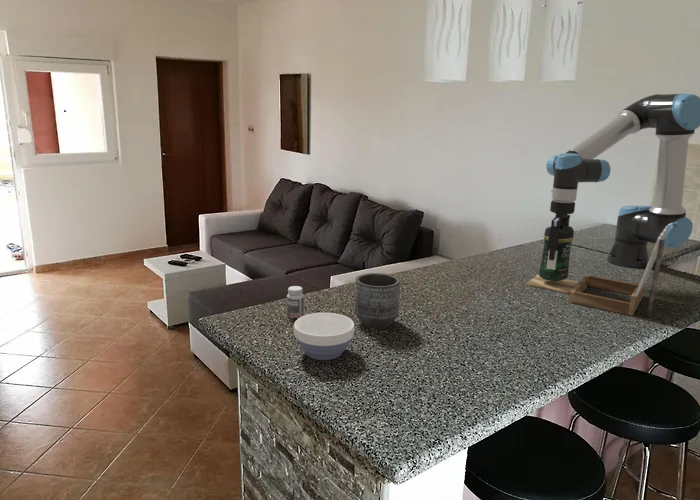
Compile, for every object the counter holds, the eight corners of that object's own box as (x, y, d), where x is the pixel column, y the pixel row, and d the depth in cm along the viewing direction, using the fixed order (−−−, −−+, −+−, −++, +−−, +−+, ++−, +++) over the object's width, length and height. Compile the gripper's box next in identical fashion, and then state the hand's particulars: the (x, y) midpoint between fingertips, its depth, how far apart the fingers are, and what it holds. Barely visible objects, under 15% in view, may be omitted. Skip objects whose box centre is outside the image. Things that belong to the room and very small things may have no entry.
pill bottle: (296, 311, 150) (296, 284, 148) (307, 316, 147) (307, 288, 145) (283, 315, 147) (283, 287, 145) (294, 320, 144) (293, 292, 142)
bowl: (305, 371, 116) (305, 340, 114) (286, 345, 129) (286, 316, 127) (363, 360, 122) (364, 330, 120) (340, 336, 134) (340, 309, 132)
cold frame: (584, 284, 179) (594, 217, 173) (658, 298, 167) (672, 226, 160) (568, 302, 162) (578, 227, 156) (649, 319, 149) (664, 239, 143)
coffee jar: (555, 283, 173) (562, 229, 168) (534, 277, 179) (541, 225, 174) (571, 278, 178) (579, 226, 173) (551, 273, 184) (558, 222, 179)
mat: (538, 275, 188) (538, 273, 188) (578, 283, 180) (579, 281, 180) (525, 285, 177) (526, 283, 177) (568, 293, 170) (568, 292, 169)
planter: (347, 318, 146) (348, 275, 143) (385, 312, 151) (387, 270, 147) (365, 335, 135) (367, 289, 132) (406, 328, 140) (408, 283, 137)
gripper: (560, 195, 182) (552, 257, 188) (541, 203, 165) (534, 270, 171) (583, 198, 178) (574, 260, 184) (566, 206, 161) (557, 275, 167)
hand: (555, 265), depth 177 cm, fingers closed on coffee jar, 9 cm apart
